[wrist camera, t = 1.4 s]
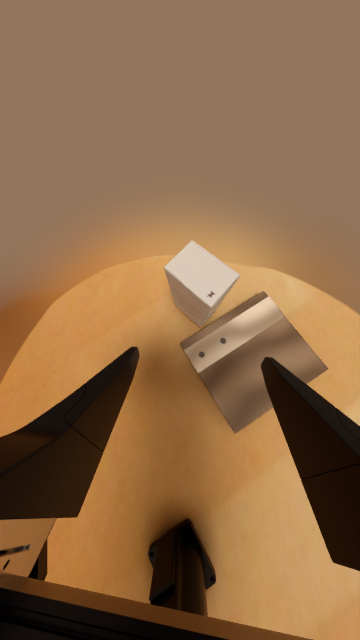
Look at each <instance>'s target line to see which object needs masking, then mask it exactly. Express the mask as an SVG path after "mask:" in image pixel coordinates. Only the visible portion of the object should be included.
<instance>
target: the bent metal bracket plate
mask: <svg viewBox="0 0 360 640" xmlns="http://www.w3.org/2000/svg"><path fill="white" fill-rule="evenodd" d="M180 345H181V346H182V348H183V350H184V351H185V353H186V355H187V356H188V358H189V359H190V361H191V363H192V364H193V366H194V368H195V369H196V371H197V373H198V374H199V376H200V377H201V379H202V381H203V382H204V384H205V386H206V387H207V389H208V390H209V392H210V394H211V395H212V397H213V399H214V400H215V402H216V404H217V405H218V407H219V408H220V410H221V412H222V413H223V415H224V417H225V418H226V420H227V422H228V423H229V425H230V426H231V428H232V430H233V431H234V433H235V434H236V433H237V432H239V431H240V430H241V429H243V428H244V427H246V426H247V425H249V424H250V423H251V422H253V421H254V420H256V419H257V418H259V417H260V416H261V415H263V414H264V413H266V412H267V411H269V410H270V409H272V408H273V405H272V402H271V400H270V397H269V394H268V392H267V389H266V385H265V381H264V378H263V374H262V370H261V363H262V361H263V360H264V358H265V357H272V358H274V359H275V360H276V361H278V362H279V363H280V364H281V365H283V366H284V367H285V368H287V369H288V370H289V371H290V372H292V373H293V374H294V375H295V376H297V377H298V378H299V379H300V380H302V381H303V382H304V383H305V384H307V383H309V382H310V381H312V380H313V379H315V378H316V377H317V376H319V375H320V374H322V373H323V372H325V371H326V370H328V368H327V366H326V365H325V364H324V363H323V362H322V360H321V359H320V358H319V357H318V356H317V354H316V353H315V352H314V351H313V350H312V348H311V347H310V346H309V345H308V344H307V342H306V341H305V340H304V339H303V338H302V336H301V335H300V334H299V333H298V332H297V330H296V329H295V328H294V327H293V326H292V324H291V323H290V322H289V321H288V320H287V318H286V317H285V315H284V314H283V313H282V311H281V310H280V309H279V308H278V307H277V305H276V304H275V303H274V302H273V301H272V299H271V298H270V297H269V296H268V295H267V294H266V293H265V292H264V291H263V292H261V293H259V294H258V295H256V296H255V297H253V298H252V299H250V300H248V301H247V302H245V303H244V304H242V305H240V306H239V307H237V308H236V309H234V310H233V311H231V312H229V313H228V314H226V315H225V316H223V317H222V318H220V319H218V320H217V321H215V322H214V323H212V324H211V325H209V326H207V327H206V328H204V329H203V330H201V331H199V332H198V333H196V334H195V335H193V336H192V337H190V338H188V339H187V340H185V341H184V342H182V343H181V344H180Z"/></svg>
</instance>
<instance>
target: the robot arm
mask: <svg viewBox="0 0 360 640" xmlns="http://www.w3.org/2000/svg"><path fill="white" fill-rule="evenodd" d="M138 360H139V351H138V348H137V347H130V348H129V349H128V350H127V351H125V352H124V353H123V354H122V355H120V356H119V357H118V358H117V359H115V360H114V361H113V362H111V363H110V364H109V365H108V366H106V367H105V368H104V369H103V370H101V371H100V372H99V373H98V374H96V375H95V376H94V377H93V378H91V379H90V380H89V381H87V382H86V383H85V384H84V385H82V386H81V387H80V388H79V389H77V390H76V391H75V392H73V393H72V394H71V395H69V396H68V397H67V398H65V399H64V400H62V401H61V402H60V403H58V404H57V405H55V406H54V407H52V408H51V409H49V410H48V411H47V412H45V413H44V414H42V415H41V416H39V417H38V418H37V419H35V420H34V421H32V422H31V423H29V424H28V425H26V426H24V427H22V428H21V429H19V430H17V431H15V432H12V433H10V434H8V435H5V436H2V437H0V640H312V639H307V638H303V637H298V636H293V635H289V634H284V633H280V632H275V631H270V630H266V629H261V628H257V627H252V626H248V625H243V624H238V623H234V622H229V621H225V620H220V619H215V618H211V617H208V614H207V600H206V590H207V589H208V588H209V587H211V586H212V585H213V584H215V582H216V575H215V571H214V569H213V566H212V564H211V562H210V560H209V558H208V556H207V554H206V552H205V550H204V548H203V546H202V544H201V542H200V539H199V537H198V535H197V533H196V531H195V529H194V527H193V525H192V523H191V521H190V520H188V519H187V520H185V521H184V522H182V523H181V524H180V525H178V526H177V527H175V528H174V529H173V530H171V531H170V532H168V533H167V534H166V535H164V536H163V537H161V538H160V539H159V540H157V541H156V542H155V543H153V544H152V545H151V546H150V547H149V551H148V556H149V559H150V561H151V564H152V566H153V569H154V570H153V576H152V583H151V589H150V596H149V600H150V604H147V603H142V602H138V601H133V600H128V599H124V598H119V597H115V596H110V595H105V594H101V593H96V592H92V591H87V590H83V589H78V588H73V587H69V586H64V585H60V584H55V583H50V582H46V581H44V580H45V578H46V575H47V537H48V535H49V533H50V531H51V529H52V527H53V525H54V523H55V521H56V519H57V518H72V517H78V514H79V512H80V510H81V507H82V505H83V502H84V500H85V497H86V495H87V492H88V490H89V487H90V485H91V482H92V480H93V477H94V475H95V472H96V470H97V467H98V465H99V462H100V460H101V457H102V455H103V452H104V450H105V447H106V445H107V442H108V440H109V437H110V435H111V432H112V430H113V427H114V425H115V422H116V420H117V417H118V415H119V412H120V410H121V407H122V405H123V402H124V400H125V397H126V395H127V392H128V390H129V387H130V385H131V382H132V380H133V377H134V374H135V370H136V367H137V363H138ZM261 370H262V374H263V378H264V381H265V385H266V389H267V392H268V394H269V397H270V400H271V402H272V405H273V407H274V410H275V413H276V415H277V418H278V421H279V423H280V426H281V428H282V431H283V434H284V436H285V439H286V442H287V444H288V447H289V449H290V452H291V455H292V457H293V460H294V462H295V465H296V468H297V470H298V473H299V476H300V478H301V481H302V484H303V486H304V489H305V492H306V494H307V497H308V499H309V502H310V505H311V507H312V510H313V513H314V515H315V518H316V520H317V523H318V526H319V528H320V531H321V534H322V536H323V539H324V541H325V544H326V547H327V549H328V552H329V554H330V557H331V559H332V561H333V563H336V564H339V565H342V566H345V567H349V568H352V569H355V570H358V571H360V426H359V425H358V424H356V423H355V422H354V421H352V420H351V419H350V418H349V417H347V416H346V415H345V414H343V413H342V412H341V411H340V410H338V409H337V408H335V407H334V406H333V405H332V404H331V403H329V402H328V401H327V400H326V399H324V398H323V397H322V396H321V395H319V394H318V393H317V392H316V391H314V390H313V389H312V388H311V387H309V386H308V385H307V384H305V383H304V382H303V381H302V380H300V379H299V378H298V377H297V376H295V375H294V374H293V373H292V372H290V371H289V370H288V369H287V368H285V367H284V366H283V365H281V364H280V363H279V362H278V361H276V360H275V359H274V358H272V357H265V358H264V360H263V361H262V363H261Z"/></svg>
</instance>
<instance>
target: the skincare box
mask: <svg viewBox="0 0 360 640" xmlns="http://www.w3.org/2000/svg"><path fill="white" fill-rule="evenodd" d="M164 270H165V273H166V276H167V280H168V283H169V286H170V290H171V293H172V296H173V299H174V303H175V306H176V307H177V308H178V309H179V310H180V311H181V312H182V313H183V314H185V315H186V316H187V317H188V318H189V319H190V320H191V321H193V322H194V323H195V324H196V325H197V326H198V327H199V328H200V327H201V326H202V325H203V324H204V323H205V322H206V321H207V320H208V318H209V317H210V316H211V315H212V314H213V313H214V312H215V310H216V309H217V308H218V306H219V305H220V303H221V302H222V300H223V299H224V298H225V296H226V295H227V294H228V292H229V291H230V289H231V288H232V287H233V285H234V284H235V282H236V281H237V280H238V278H239V277H240V274H239V273H237V272H236V271H234V270H233V269H232V268H230V267H229V266H228V265H226V264H225V263H223V262H222V261H221V260H219V259H218V258H216V257H215V256H213V255H212V254H211V253H209V252H208V251H206V250H205V249H204V248H202V247H201V246H200V245H198V244H197V243H195V242H194V241H193V240H191V242H190V243H189V244H188V245H187V246H186V247H184V248H183V249H182V250H181V251H180V252H179V253H178V254H177V255H176V256H175V257H174V258H173V259H172V260H171V261H170V262H169V263H168V264H166V265H165V266H164Z"/></svg>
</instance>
